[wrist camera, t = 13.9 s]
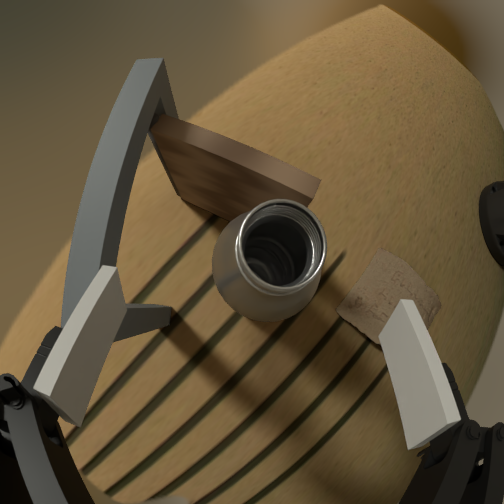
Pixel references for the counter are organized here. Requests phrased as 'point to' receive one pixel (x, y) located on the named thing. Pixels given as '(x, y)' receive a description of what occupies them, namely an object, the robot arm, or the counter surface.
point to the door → (224, 170)
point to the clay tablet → (386, 295)
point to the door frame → (117, 193)
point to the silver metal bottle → (270, 260)
